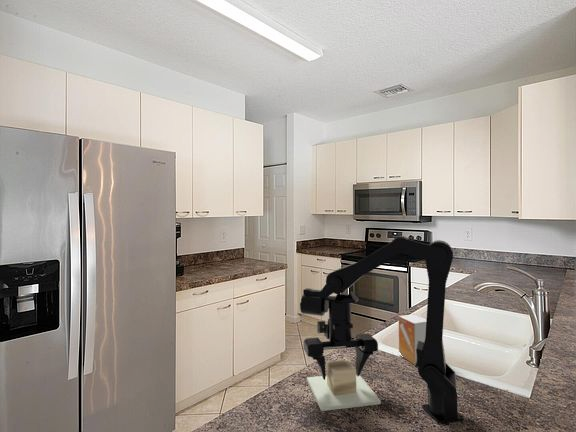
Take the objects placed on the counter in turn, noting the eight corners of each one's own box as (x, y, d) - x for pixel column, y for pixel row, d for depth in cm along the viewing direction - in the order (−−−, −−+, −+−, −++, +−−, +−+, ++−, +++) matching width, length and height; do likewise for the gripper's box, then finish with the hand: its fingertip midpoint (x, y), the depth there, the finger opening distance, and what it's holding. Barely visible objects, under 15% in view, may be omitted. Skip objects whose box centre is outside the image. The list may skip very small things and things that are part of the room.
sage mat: (380, 404, 80) (380, 400, 80) (321, 411, 77) (321, 407, 77) (357, 375, 94) (357, 372, 94) (306, 380, 92) (306, 377, 92)
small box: (398, 355, 108) (397, 315, 108) (414, 352, 109) (414, 313, 110) (415, 365, 100) (414, 323, 100) (432, 362, 102) (431, 320, 102)
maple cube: (356, 392, 83) (356, 369, 83) (333, 395, 82) (333, 371, 82) (348, 381, 89) (347, 359, 89) (326, 383, 88) (326, 361, 88)
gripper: (361, 307, 95) (362, 361, 95) (298, 311, 92) (299, 367, 92) (378, 318, 85) (379, 379, 84) (308, 323, 81) (309, 387, 81)
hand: (340, 377), depth 86 cm, fingers open, 9 cm apart
